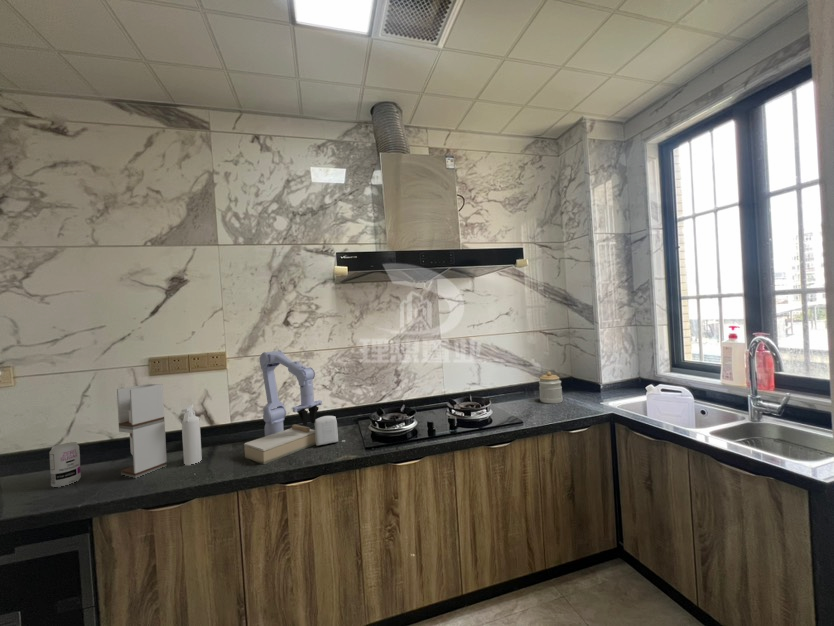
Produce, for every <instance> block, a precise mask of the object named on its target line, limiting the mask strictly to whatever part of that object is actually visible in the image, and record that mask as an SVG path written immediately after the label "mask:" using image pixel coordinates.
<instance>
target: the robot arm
mask: <svg viewBox="0 0 834 626" xmlns="http://www.w3.org/2000/svg"><path fill="white" fill-rule="evenodd" d="M259 364H260V369H261V371H262V377H263V383H264V388H265V396H266V401H267V404H266V405H265V406H264V407H263V410H262V411H263V414H262V417H263V421H264V423H265V425H264V426H263V427H264V437H265V436H268V435H271V434H275V433H278V432H281V431H284V430H285V429H284V421H285V418H286V417H287V410H286V407H285V405H284V402H281V401H280V399H279V395H278V388H277V382H276V375H275V369H276V368H277V367H278V366H279V365H282V366H283V367H286V368H287V370H288V372H289V373H291V374H292V375H293V376H295V377H296V380H297V382H298V386H299V390H300V404H299V405H296V406H293V407H292V412H293V413H297V414H298V416H299V417H300V419H301V422H302V426H305V427H308V414H309V421H310V424H315V420H316V417H317V413H318V411H319V406H322V405H323V400H316V401H315V398H314V397H315V396H314V381H313V380H314V379H315V377H316V372H315V370H314V368H312V367H306V365H303V364H302V363H300V361H298V360H294V361H292V360H291V359H290V358H288V357H287V355H285V352H284V351H282V350H276V351H275V350H274V351H267V352H265V351H264V352H261V354H260V356H259Z"/></svg>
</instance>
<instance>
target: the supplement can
mask: <svg viewBox="0 0 834 626" xmlns="http://www.w3.org/2000/svg"><path fill="white" fill-rule="evenodd" d="M48 453H49V470H50V486H51V487H52V488H54V487H58V488H62V487H61V486H64V487H66V486H65V485H68V486H70V485H69V484H71V483H73V484H75V483H74V482H76V481H77V482H79V480H80V479H81V477H82V476H81V475H82V474H81V454H80V453H81V452H80V445H79V444H78V442H76V441H75V442H73V441H70V442H66V443H62V444H58V445H55V446H52V447H51V450H50V451H49V452H48ZM77 482H76V483H77ZM71 485H72V484H71Z"/></svg>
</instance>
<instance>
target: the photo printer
mask: <svg viewBox="0 0 834 626" xmlns="http://www.w3.org/2000/svg"><path fill="white" fill-rule="evenodd" d="M314 430H315V440H316V444H315V446H316V447H317V446H322V445H323V446H324V445H328V444H333V443H338V442H339V433H338V422H337V418H336V416H334V415H323V416H320V417H318V418H315V422H314Z"/></svg>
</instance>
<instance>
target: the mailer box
mask: <svg viewBox="0 0 834 626" xmlns="http://www.w3.org/2000/svg"><path fill="white" fill-rule="evenodd" d="M314 445H315V446H316V440H315V433H313V434H311V435H308V436H305V437H302V438H299V439H297V440H294V441H291V442H288V443H285V444H283V445H280V446H277V447H274V448H272V449H269V450H266V451H261V450H258V449H255V448H252V447H249V446H245V445H244V457H245V458H246V459H249V460H251V461H253V462H256V463H259V464H262V465H266V464H269V463H272V462H274V461H277V460H279V459H282V458H284V457H287V456H289V455H292V454H294V453H298V452H300V451H302V450H305V449H308V448H310V447H313V446H314Z"/></svg>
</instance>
